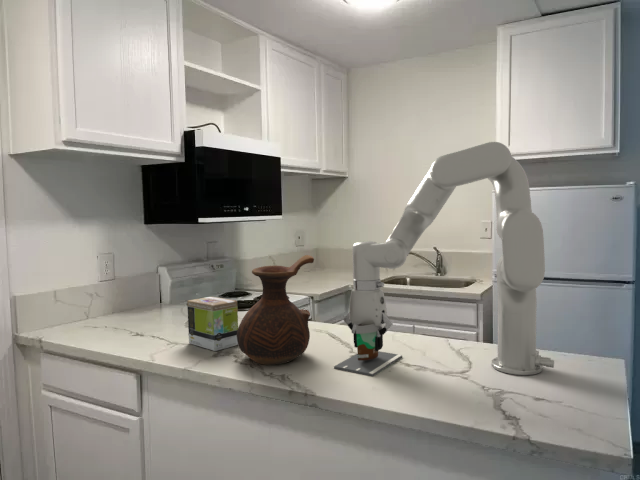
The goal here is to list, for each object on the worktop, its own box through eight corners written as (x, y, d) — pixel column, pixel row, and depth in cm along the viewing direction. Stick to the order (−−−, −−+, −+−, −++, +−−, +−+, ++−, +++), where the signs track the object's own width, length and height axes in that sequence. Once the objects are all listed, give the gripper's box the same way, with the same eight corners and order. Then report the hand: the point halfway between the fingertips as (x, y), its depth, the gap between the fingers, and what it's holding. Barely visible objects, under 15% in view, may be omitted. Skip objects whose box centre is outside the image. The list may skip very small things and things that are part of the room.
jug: (285, 375, 128) (282, 263, 126) (222, 364, 139) (218, 260, 137) (324, 352, 147) (322, 254, 145) (266, 343, 158) (263, 252, 156)
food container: (379, 363, 131) (378, 326, 130) (357, 362, 132) (355, 326, 132) (384, 349, 143) (383, 316, 142) (364, 348, 144) (362, 315, 143)
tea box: (240, 344, 158) (238, 300, 157) (214, 352, 150) (212, 305, 149) (213, 337, 168) (211, 295, 167) (187, 343, 161) (185, 299, 159)
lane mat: (402, 357, 141) (402, 354, 141) (372, 376, 126) (372, 373, 126) (365, 350, 147) (365, 348, 147) (334, 368, 133) (334, 366, 133)
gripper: (400, 285, 135) (401, 348, 136) (347, 281, 144) (348, 340, 146) (388, 289, 128) (389, 356, 130) (333, 285, 138) (335, 347, 139)
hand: (368, 347), depth 138 cm, fingers closed on food container, 5 cm apart
